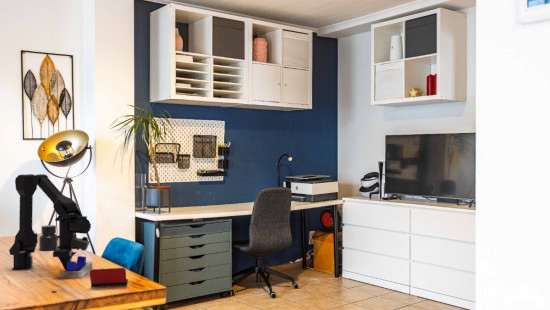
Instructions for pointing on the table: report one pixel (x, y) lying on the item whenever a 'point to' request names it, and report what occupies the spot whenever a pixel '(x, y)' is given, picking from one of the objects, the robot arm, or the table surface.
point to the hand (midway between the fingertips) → (67, 271)
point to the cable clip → (76, 264)
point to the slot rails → (76, 272)
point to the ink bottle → (48, 238)
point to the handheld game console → (108, 277)
